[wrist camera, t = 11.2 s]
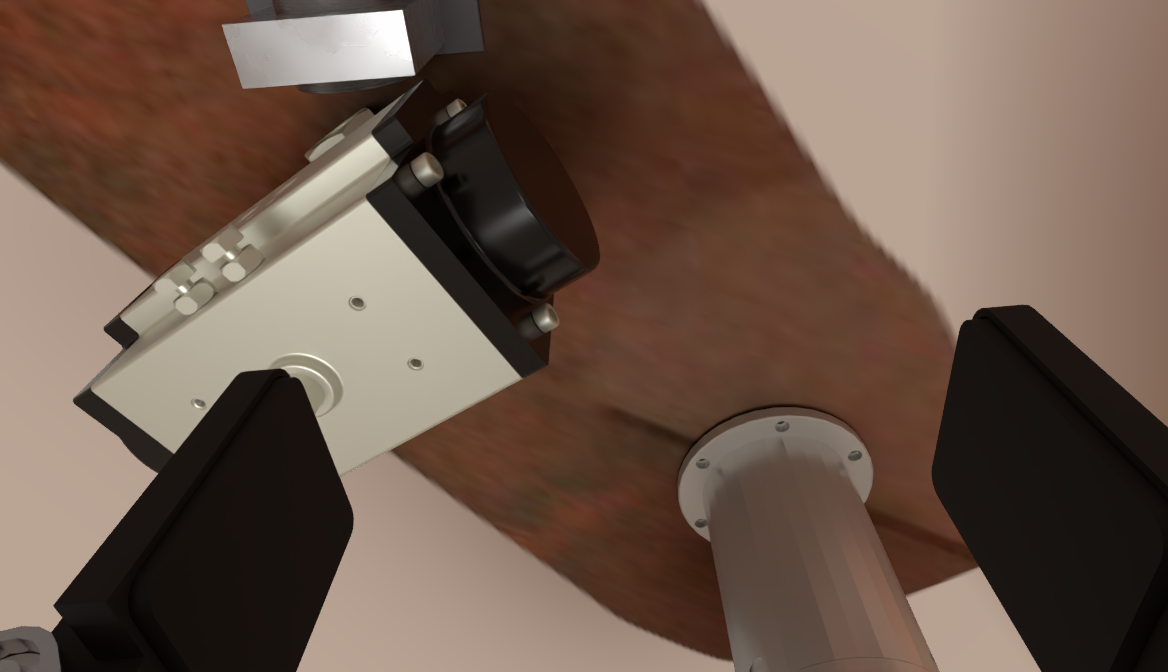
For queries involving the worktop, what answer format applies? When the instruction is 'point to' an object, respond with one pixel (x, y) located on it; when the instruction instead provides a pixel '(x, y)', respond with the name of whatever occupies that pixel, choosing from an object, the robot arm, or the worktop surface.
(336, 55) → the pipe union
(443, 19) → the joint mat
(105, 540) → the robot arm
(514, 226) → the ball valve
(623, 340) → the worktop surface
